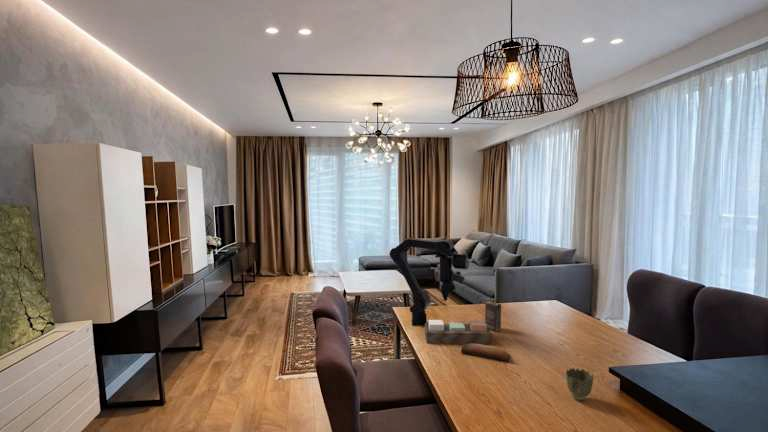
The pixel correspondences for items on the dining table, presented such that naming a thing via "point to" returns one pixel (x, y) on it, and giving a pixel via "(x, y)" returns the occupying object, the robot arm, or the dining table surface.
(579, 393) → the cup
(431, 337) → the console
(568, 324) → the dining table surface
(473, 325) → the key terracotta
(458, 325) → the key sage
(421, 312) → the robot arm
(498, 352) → the sunglasses case
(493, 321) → the box
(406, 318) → the dining table surface
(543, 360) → the dining table surface
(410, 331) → the dining table surface
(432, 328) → the key cream
